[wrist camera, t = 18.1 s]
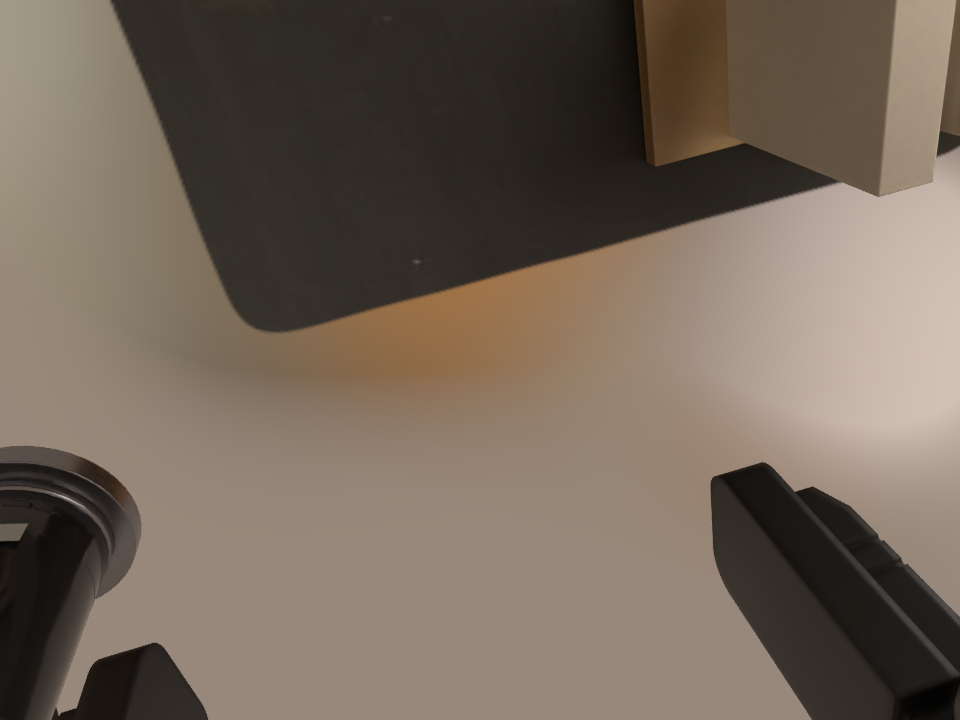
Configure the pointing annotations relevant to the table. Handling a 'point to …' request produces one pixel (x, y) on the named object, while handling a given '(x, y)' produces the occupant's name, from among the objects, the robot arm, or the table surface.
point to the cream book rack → (711, 78)
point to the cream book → (841, 85)
